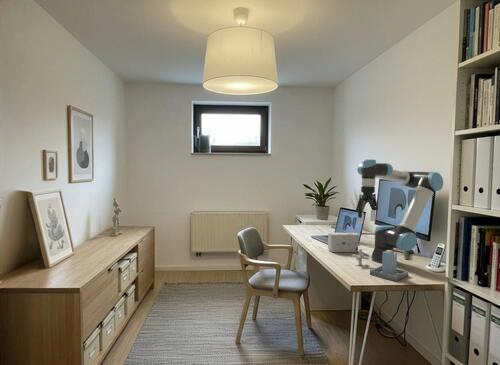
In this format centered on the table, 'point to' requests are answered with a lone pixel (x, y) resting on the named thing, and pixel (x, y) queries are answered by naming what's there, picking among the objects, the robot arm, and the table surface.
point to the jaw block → (389, 262)
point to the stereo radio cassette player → (343, 242)
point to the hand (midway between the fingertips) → (366, 222)
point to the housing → (378, 272)
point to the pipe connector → (360, 256)
